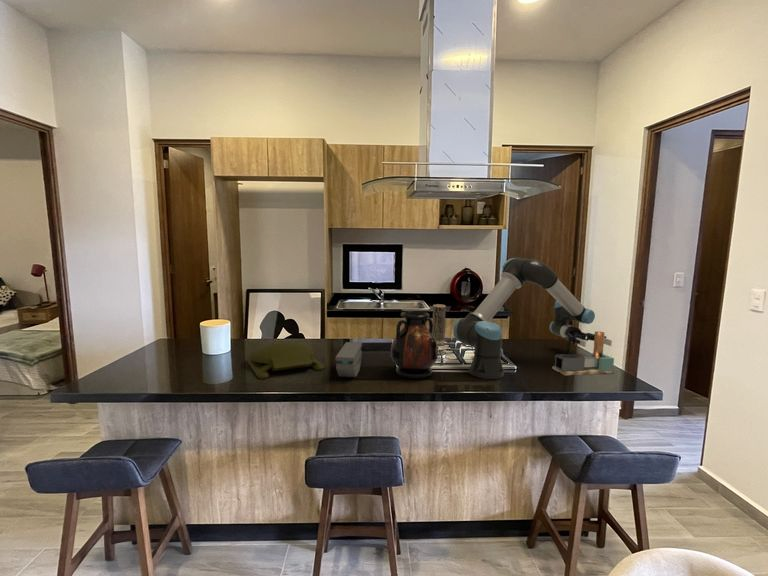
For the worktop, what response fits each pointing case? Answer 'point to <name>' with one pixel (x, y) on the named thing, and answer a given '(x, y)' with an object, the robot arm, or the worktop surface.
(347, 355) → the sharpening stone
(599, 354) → the slip bolt
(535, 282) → the robot arm
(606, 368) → the socket
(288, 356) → the olive folded cloth
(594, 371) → the base board
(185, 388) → the worktop surface
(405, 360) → the amphora vase
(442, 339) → the wooden log
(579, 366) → the sleeve
